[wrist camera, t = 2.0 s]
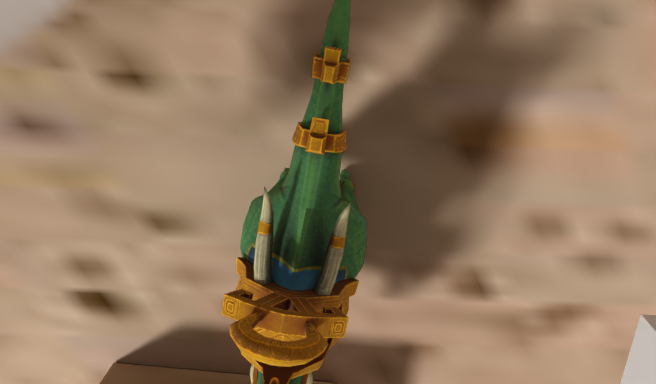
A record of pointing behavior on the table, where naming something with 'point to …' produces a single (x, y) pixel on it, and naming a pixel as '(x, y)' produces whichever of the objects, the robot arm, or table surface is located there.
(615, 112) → the table surface
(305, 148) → the figurine
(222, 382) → the beige rectangular block
